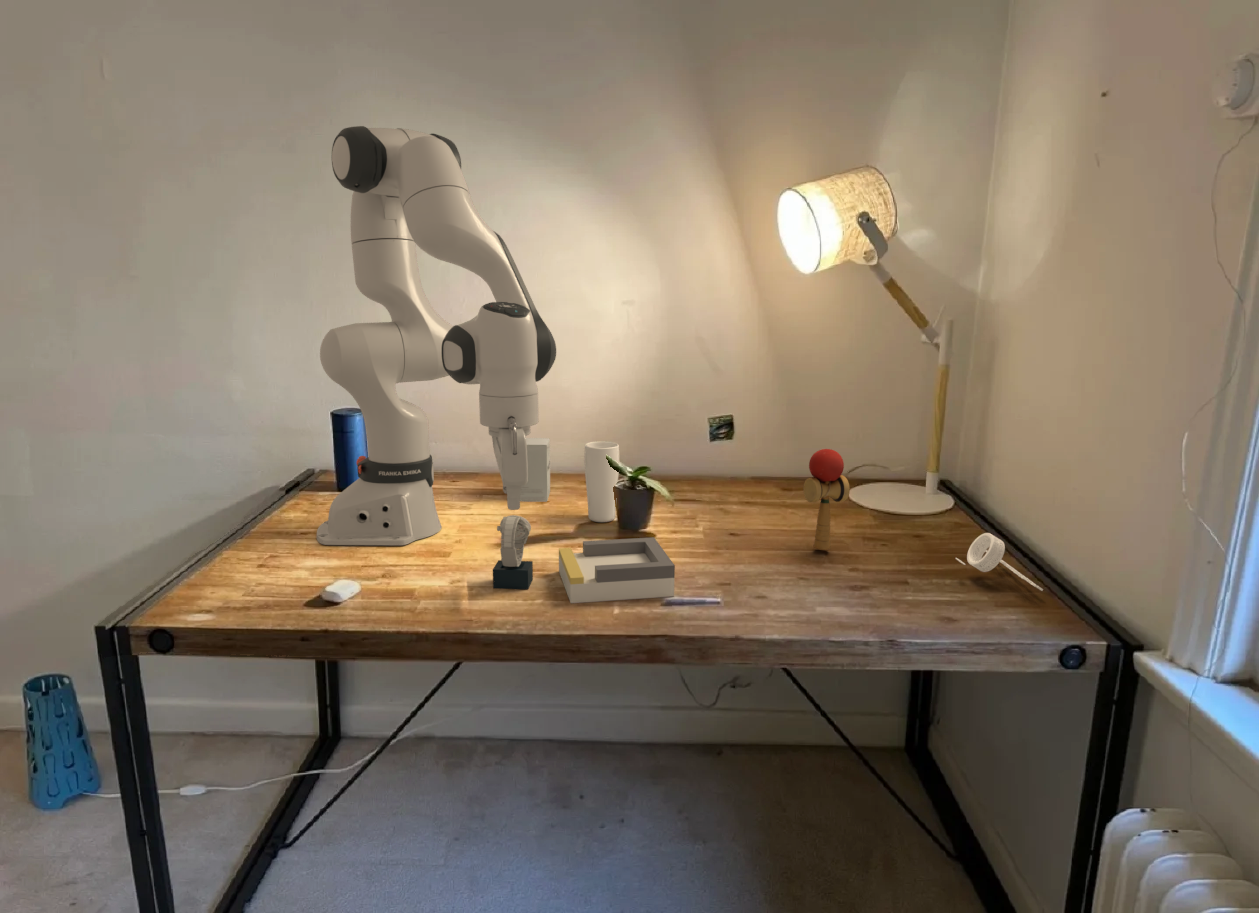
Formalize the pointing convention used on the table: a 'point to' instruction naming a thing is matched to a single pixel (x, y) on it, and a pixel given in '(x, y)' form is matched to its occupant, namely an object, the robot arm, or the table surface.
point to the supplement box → (537, 471)
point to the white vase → (600, 480)
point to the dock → (612, 587)
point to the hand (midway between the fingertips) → (511, 500)
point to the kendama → (825, 490)
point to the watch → (513, 555)
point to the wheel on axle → (989, 555)
